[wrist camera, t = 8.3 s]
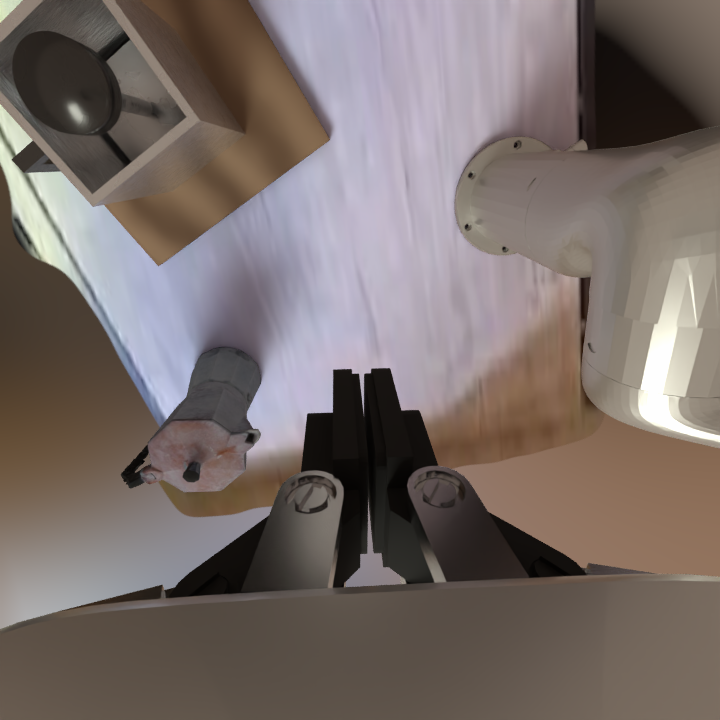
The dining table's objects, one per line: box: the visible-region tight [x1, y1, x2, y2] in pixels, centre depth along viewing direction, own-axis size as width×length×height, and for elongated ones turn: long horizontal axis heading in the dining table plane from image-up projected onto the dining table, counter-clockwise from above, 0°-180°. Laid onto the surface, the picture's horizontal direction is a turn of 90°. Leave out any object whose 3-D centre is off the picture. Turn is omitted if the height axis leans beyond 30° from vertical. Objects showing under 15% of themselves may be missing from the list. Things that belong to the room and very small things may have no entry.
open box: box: [0, 0, 245, 207], centre depth 33 cm, size 13×10×16 cm
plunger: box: [12, 31, 186, 162], centre depth 29 cm, size 8×8×13 cm
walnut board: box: [105, 0, 330, 266], centre depth 41 cm, size 24×20×1 cm
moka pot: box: [121, 347, 261, 492], centre depth 46 cm, size 10×15×20 cm, turn 114°
